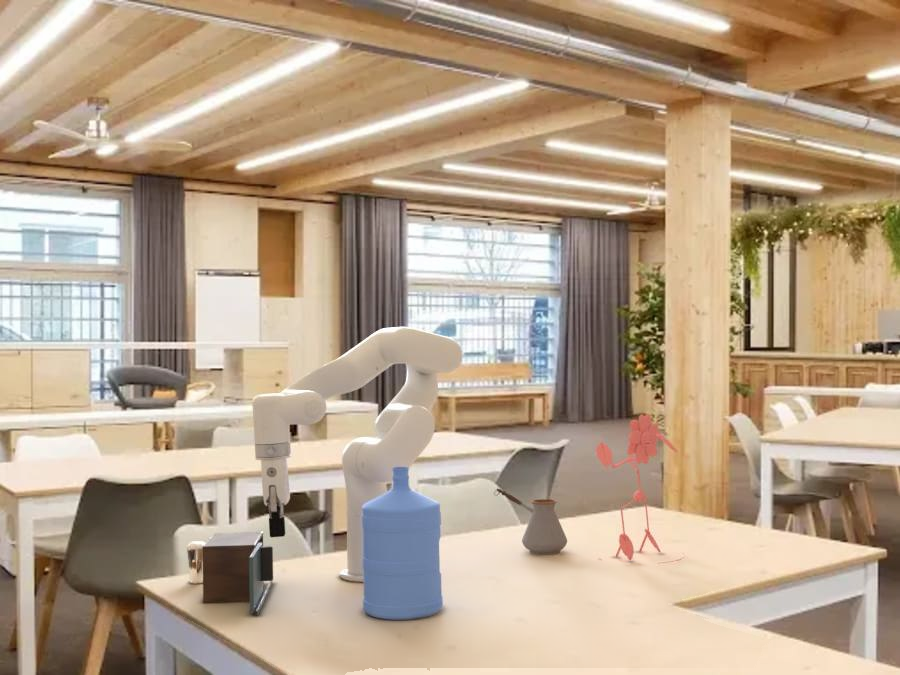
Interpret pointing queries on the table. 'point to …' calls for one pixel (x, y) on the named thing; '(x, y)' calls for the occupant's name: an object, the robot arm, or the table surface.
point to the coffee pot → (541, 527)
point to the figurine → (642, 446)
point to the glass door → (259, 572)
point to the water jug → (401, 553)
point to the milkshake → (195, 561)
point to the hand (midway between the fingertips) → (277, 536)
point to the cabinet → (229, 567)
